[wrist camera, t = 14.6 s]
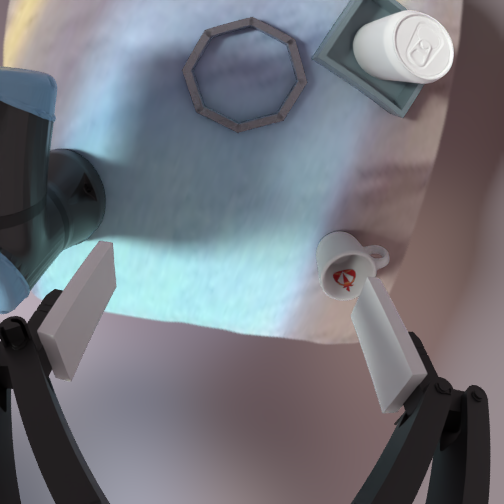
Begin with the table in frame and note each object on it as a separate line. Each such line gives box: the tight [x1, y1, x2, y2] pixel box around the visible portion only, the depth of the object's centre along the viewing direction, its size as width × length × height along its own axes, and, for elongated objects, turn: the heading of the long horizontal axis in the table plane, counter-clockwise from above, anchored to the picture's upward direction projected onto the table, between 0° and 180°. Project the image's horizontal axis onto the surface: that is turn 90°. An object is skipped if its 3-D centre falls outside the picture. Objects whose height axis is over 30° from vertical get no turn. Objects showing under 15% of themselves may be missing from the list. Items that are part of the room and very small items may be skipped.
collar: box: [182, 17, 307, 133], centre depth 35 cm, size 14×14×2 cm
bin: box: [312, 0, 424, 118], centre depth 32 cm, size 13×13×4 cm
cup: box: [316, 231, 389, 301], centre depth 45 cm, size 11×8×8 cm
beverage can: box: [353, 10, 454, 84], centre depth 28 cm, size 8×8×12 cm
